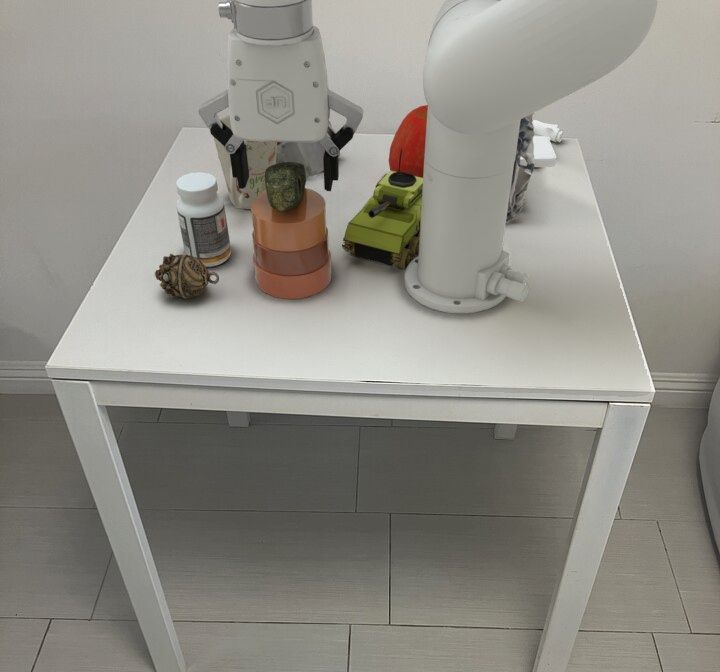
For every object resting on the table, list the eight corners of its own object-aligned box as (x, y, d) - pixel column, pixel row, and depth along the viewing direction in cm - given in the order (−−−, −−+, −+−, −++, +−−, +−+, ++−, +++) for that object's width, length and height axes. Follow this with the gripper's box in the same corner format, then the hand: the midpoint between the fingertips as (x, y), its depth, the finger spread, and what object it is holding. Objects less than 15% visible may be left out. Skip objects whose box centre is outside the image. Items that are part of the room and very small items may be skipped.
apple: (464, 201, 109) (472, 124, 102) (388, 201, 109) (390, 124, 102) (458, 166, 116) (465, 91, 109) (387, 166, 116) (388, 92, 109)
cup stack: (346, 271, 98) (345, 199, 91) (300, 308, 93) (295, 234, 86) (287, 248, 102) (282, 177, 95) (239, 282, 97) (230, 209, 90)
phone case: (448, 137, 120) (548, 135, 120) (447, 146, 121) (546, 144, 121) (453, 160, 115) (557, 157, 115) (452, 169, 116) (555, 167, 116)
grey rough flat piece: (485, 169, 116) (496, 74, 106) (515, 169, 116) (528, 74, 106) (493, 223, 106) (506, 122, 96) (526, 223, 105) (542, 123, 96)
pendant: (164, 280, 97) (156, 243, 93) (226, 284, 96) (221, 247, 93) (153, 305, 94) (144, 267, 90) (217, 308, 93) (211, 271, 89)
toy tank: (339, 265, 99) (337, 189, 92) (390, 211, 108) (392, 137, 101) (401, 282, 97) (404, 205, 89) (448, 225, 106) (454, 150, 98)
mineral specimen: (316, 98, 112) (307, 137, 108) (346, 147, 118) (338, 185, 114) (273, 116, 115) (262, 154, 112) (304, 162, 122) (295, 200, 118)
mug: (287, 185, 113) (281, 113, 106) (271, 232, 105) (264, 157, 97) (229, 182, 114) (219, 111, 106) (208, 229, 105) (197, 154, 98)
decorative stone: (297, 232, 86) (294, 190, 83) (260, 230, 87) (255, 189, 83) (308, 178, 95) (306, 138, 91) (275, 177, 95) (271, 137, 91)
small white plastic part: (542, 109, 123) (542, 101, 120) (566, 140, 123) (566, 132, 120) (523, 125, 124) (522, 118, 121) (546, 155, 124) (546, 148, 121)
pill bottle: (238, 247, 102) (228, 172, 95) (221, 272, 98) (209, 195, 91) (196, 241, 103) (184, 166, 96) (178, 265, 99) (163, 189, 92)
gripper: (176, 28, 76) (203, 198, 88) (360, 31, 75) (360, 203, 87) (193, 2, 81) (216, 166, 93) (365, 5, 80) (365, 170, 92)
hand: (286, 184), depth 90 cm, fingers open, 9 cm apart
